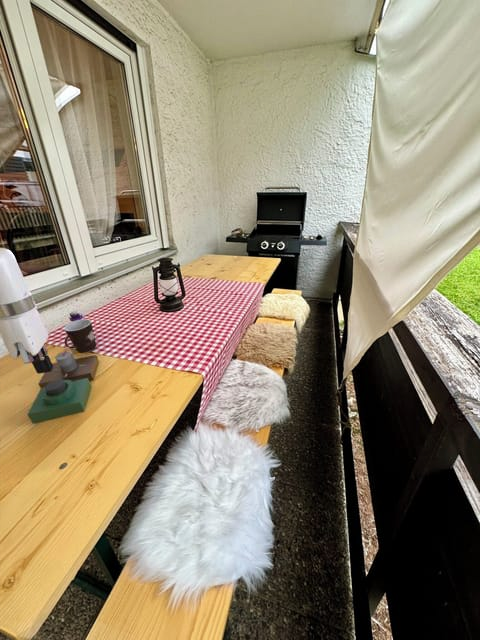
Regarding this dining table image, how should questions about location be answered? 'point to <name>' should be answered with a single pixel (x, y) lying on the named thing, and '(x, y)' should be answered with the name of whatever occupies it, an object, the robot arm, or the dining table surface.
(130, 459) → the dining table surface
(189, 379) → the dining table surface
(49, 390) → the dark grey short cylinder
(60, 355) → the dial
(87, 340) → the coffee mug
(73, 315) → the potion bottle
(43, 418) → the green flat block
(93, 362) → the dial panel
